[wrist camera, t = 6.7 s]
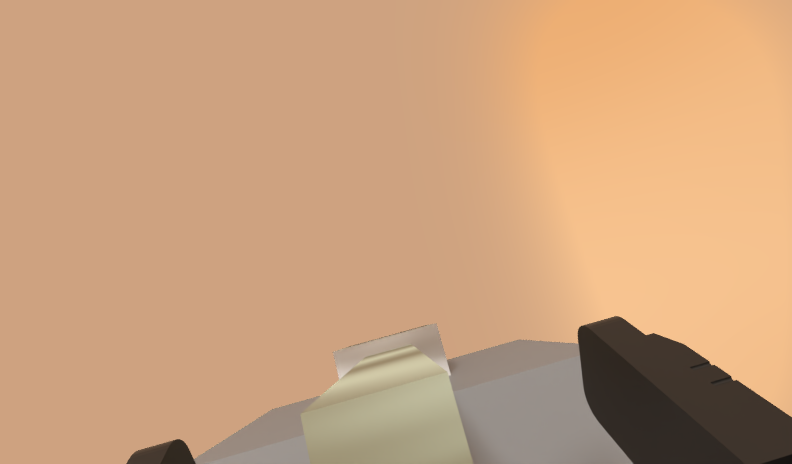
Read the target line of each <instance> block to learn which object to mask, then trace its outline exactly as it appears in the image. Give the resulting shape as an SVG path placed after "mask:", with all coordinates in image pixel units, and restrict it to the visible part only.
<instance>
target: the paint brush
mask: <svg viewBox="0 0 792 464" xmlns="http://www.w3.org/2000/svg"><path fill="white" fill-rule="evenodd" d="M333 354H334V359H335V363H336V367H337V372H338V376H339V380H338V381H337V382H336V383H335V384H334V385H333V386H332V387H330V388H329V389H328V390H327V391H326V392H325V393H324V394H322V395H321V396H320V397H319V398H318V399H317V400H316V401H314V402H313V403H312V404H311V405H310V406H309V407H308V408H306V409H305V410H304V411H303V412H302V413H301V414H300V415H301V420H302V425H303V430H304V435H305V440H306V445H307V450H308V455H309V460H310V464H473V461H472V457H471V454H470V450H469V447H468V443H467V439H466V436H465V432H464V429H463V425H462V422H461V418H460V415H459V411H458V408H457V404H456V401H455V397H454V394H453V390H452V386H451V383H450V379H449V375H451V373H450V370H449V366H448V363H447V359H446V356H445V352H444V349H443V345H442V342H441V338H440V335H439V331H438V328H437V324H431V325H426V326H422V327H418V328H415V329H411V330H408V331H404V332H400V333H397V334H393V335H389V336H386V337H382V338H379V339H375V340H371V341H368V342H364V343H361V344H357V345H353V346H350V347H347V348H344V349H341V350H338V351H335V352H333Z"/></svg>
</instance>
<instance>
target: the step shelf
mask: <svg viewBox="0 0 792 464" xmlns="http://www.w3.org/2000/svg"><path fill="white" fill-rule="evenodd" d="M447 363H448V366H449V370H450V373H451V375H449V379H450V383H451V386H452V390H453V394H454V397H455V401H456V404H457V408H458V411H459V415H460V418H461V422H462V425H463V429H464V432H465V436H466V439H467V443H468V447H469V450H470V454H471V457H472V461H473V464H633V463H632V461H631V460H630V459H629V458H628V457H627V455H626V454H625V453H624V452H623V451H622V449H621V448H620V447H619V446H618V445H617V443H616V442H615V441H614V440H613V439H612V437H611V436H610V435H609V434H608V433H607V432H606V430H605V429H604V428H603V427H602V426H601V424H600V423H599V422H598V421H597V419H596V418H595V416H594V415H593V413H592V411H591V409H590V407H589V405H588V402H587V400H586V397H585V393H584V388H583V379H582V370H581V361H580V352H579V344H575V343H560V342H544V341H530V340H516V341H513V342H509V343H506V344H502V345H498V346H495V347H491V348H488V349H484V350H481V351H477V352H474V353H470V354H467V355H463V356H459V357H456V358H453V359H449V360H447ZM319 397H320V396H318V397H315V398H311V399H307V400H304V401H301V402H297V403H294V404H290V405H286V406H283V407H279V408H276V409H272V410H270V411H269V412H267V413H266V414H264V415H263V416H261V417H260V418H258V419H256V420H255V421H253V422H252V423H250V424H249V425H247V426H245V427H244V428H242V429H241V430H239V431H238V432H236V433H234V434H233V435H231V436H230V437H228V438H227V439H225V440H223V441H222V442H221V443H219V444H217V445H216V446H214V447H212V448H211V449H209V450H208V451H206V452H205V453H203V454H202V455H200V456H198V457H197V458H195V459H194V461H195V463H196V464H310V460H309V455H308V450H307V445H306V440H305V435H304V430H303V425H302V420H301V415H300V414H301V413H302V412H303V411H304V410H305V409H306V408H308V407H309V406H310V405H311V404H312V403H313V402H314V401H316V400H317V399H318V398H319Z"/></svg>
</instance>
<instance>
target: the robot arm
mask: <svg viewBox="0 0 792 464" xmlns="http://www.w3.org/2000/svg"><path fill="white" fill-rule="evenodd" d="M578 343H579V352H580V361H581V370H582V379H583V388H584V393H585V397H586V400H587V402H588V405H589V407H590V409H591V411H592V413H593V415H594V416H595V418H596V419H597V421H598V422H599V423H600V424H601V426H602V427H603V428H604V429H605V430H606V432H607V433H608V434H609V435H610V436H611V437H612V439H613V440H614V441H615V442H616V443H617V445H618V446H619V447H620V448H621V449H622V451H623V452H624V453H625V454H626V455H627V457H628V458H629V459H630V460H631V461H632V463H633V464H792V417H790V416H789V415H787V414H786V413H785V412H783V411H782V410H780V409H779V408H777V407H776V406H774V405H773V404H771V403H770V402H768V401H767V400H765V399H764V398H762V397H761V396H759V395H758V394H756V393H755V392H754V391H752V390H751V389H749V388H747V387H746V386H745V385H743V384H742V383H740V382H739V381H737V380H736V381H733V380H732V378H731V376H730V375H728V374H727V373H725V372H724V371H723V370H721V369H720V368H718V367H717V366H715V365H711V364H710V363H709V361H708V360H706V359H705V358H703V357H702V356H700V355H699V354H697V353H696V352H695V351H693V350H692V349H690V348H689V347H687V346H686V345H684V344H682V343H679V342H676V341H673V340H670V339H668V338H665V337H662V336H660V335H657V334H654V333H653V334H650V335H645V334H643V333H642V332H641V331H639V330H638V329H637V328H635V327H634V326H632V325H631V324H630V323H628V322H627V321H626V320H624V319H623V318H621V317H618V316H615V317H611V318H608V319H604V320H601V321H597V322H594V323H591V324H587V325H584V326H581V327H580V328H579V330H578ZM127 464H196V463H195V461H194V459H193V457H192V455H191V453H190V451H189V449H188V447H187V445H186V444H185V443H184V442H183V441H182V440H180V439H177V440H173V441H170V442H167V443H163V444H159V445H156V446H153V447H149V448H145V449H142V450H138V451H136V452H135V453H134V454H133V455H132V456H131V457H130V459H129V460H128V462H127Z"/></svg>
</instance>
